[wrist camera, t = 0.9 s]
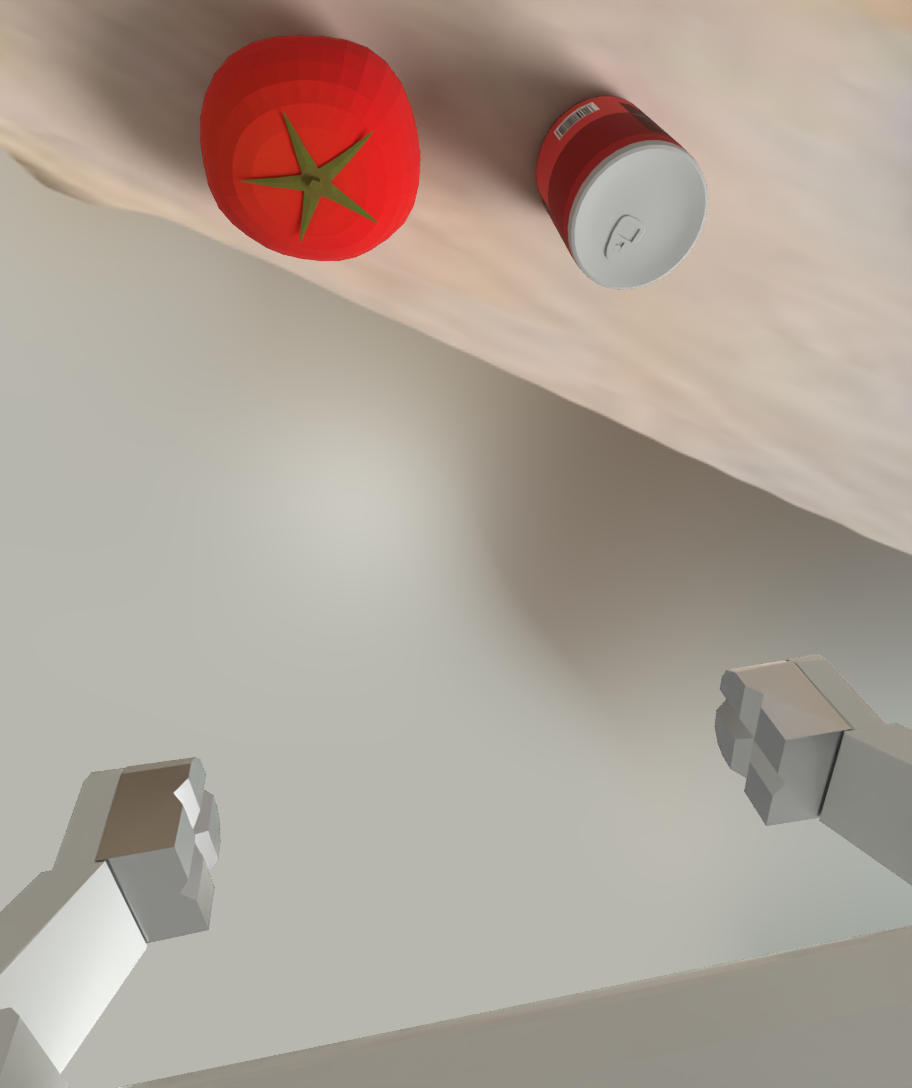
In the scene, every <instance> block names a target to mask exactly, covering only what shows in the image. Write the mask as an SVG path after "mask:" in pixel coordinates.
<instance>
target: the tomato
mask: <svg viewBox="0 0 912 1088" xmlns="http://www.w3.org/2000/svg"><path fill="white" fill-rule="evenodd" d="M200 141H201V149H202V156H203V163H204V168H205V172H206V177H207V181H208V185H209V188H210V190H211V192H212V194H213V197H214V199H215V201H216V203H217V205H218V207H219V209H220V210H221V211H222V212H223V213H224V215H225V216H226V217H227V218H228V219H229V220H230V222H231V223H232V224H233V225H235V226H236V227H237V228H238V229H240V230H241V231H242V232H244V233H245V234H246V235H247V236H249V237H250V238H252V239H254V240H255V241H257V242H258V243H260V244H261V245H263V246H265V247H266V248H268V249H271V250H273V251H276V252H278V253H281V254H283V255H287V256H292V257H296V258H301V259H309V260H317V261H341V260H345V259H350V258H354V257H357V256H359V255H361V254H364V253H366V252H368V251H370V250H372V249H373V248H375V247H376V246H377V245H379V244H380V243H382V242H384V241H385V240H387V239H388V238H389V237H390V236H391V235H392V234H393V233H394V232H396V231H397V230H398V229H399V228H400V227H401V226H402V225H403V224H404V223H405V221H406V219H407V217H408V215H409V214H410V212H411V210H412V208H413V206H414V203H415V198H416V194H417V190H418V186H419V175H420V149H419V141H418V134H417V127H416V123H415V120H414V116H413V113H412V109H411V106H410V103H409V100H408V98H407V95H406V93H405V90H404V88H403V85H402V83H401V82H400V80H399V79H398V78H397V76H396V75H395V74H394V72H393V71H392V69H391V68H390V67H389V65H388V64H387V63H386V61H384V60H383V59H382V58H380V57H379V56H378V55H377V54H375V53H374V52H373V51H371V50H370V49H369V48H367V47H364V46H362V45H359V44H356V43H354V42H351V41H348V40H344V39H337V38H331V37H324V36H303V35H297V36H281V37H273V38H268V39H264V40H260V41H256V42H252V43H250V44H249V45H247V46H245V47H243V48H242V49H240V50H238V51H237V52H235V53H233V54H232V55H231V56H230V57H228V59H227V60H226V61H225V62H224V63H223V65H222V66H221V67H220V68H219V69H218V70H217V72H216V73H215V74H214V76H213V78H212V80H211V83H210V85H209V87H208V89H207V92H206V94H205V98H204V102H203V107H202V112H201V116H200Z"/></svg>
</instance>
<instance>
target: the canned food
mask: <svg viewBox="0 0 912 1088" xmlns="http://www.w3.org/2000/svg"><path fill="white" fill-rule="evenodd" d="M536 180H537V188H538V192H539V196H540V198H541V200H542V202H543V204H544V206H545V208H546V210H547V212H548V214H549V215H550V217H551V219H552V221H553V223H554V225H555V227H556V228H557V230H558V232H559V234H560V236H561V238H562V239H563V241H564V243H565V245H566V247H567V249H568V250H569V252H570V254H571V256H572V258H573V259H574V261H575V262H576V264H577V265H578V267H579V268H580V269H581V270H582V271H583V273H584V274H585V275H586V276H587V277H588V278H590V279H591V280H593V281H594V282H595V283H597V284H599V285H602V286H604V287H606V288H611V289H617V290H625V289H634V288H639V287H643V286H646V285H648V284H650V283H653V282H655V281H657V280H659V279H660V278H662V277H663V276H665V275H667V274H668V273H669V272H671V271H672V270H673V269H674V268H675V267H676V266H678V265H679V264H680V263H681V261H682V260H683V259H684V258H685V257H686V256H687V255H688V253H689V252H690V251H691V249H692V247H693V246H694V244H695V243H696V241H697V239H698V237H699V235H700V233H701V231H702V228H703V226H704V222H705V218H706V215H707V207H708V191H707V184H706V181H705V178H704V175H703V172H702V171H701V169H700V167H699V166H698V164H697V163H696V161H695V159H694V158H693V157H692V156H691V155H690V154H689V153H688V152H687V151H686V150H685V149H684V148H683V147H682V146H681V145H680V144H679V143H678V142H676V141H675V140H674V139H673V138H672V137H671V136H669V135H668V134H667V133H666V132H665V131H664V130H663V129H661V128H660V127H659V126H658V125H657V124H656V123H654V122H653V121H652V120H651V119H650V118H649V117H648V116H646V115H645V114H644V113H643V112H642V111H641V110H639V109H638V108H637V107H636V106H635V105H634V104H632V103H630V102H628V101H626V100H625V99H622V98H618V97H613V96H599V97H595V98H591V99H587V100H585V101H583V102H581V103H578V104H576V105H574V106H573V107H571V108H570V109H569V110H567V111H566V112H565V113H563V115H562V116H561V117H560V118H559V119H558V120H557V121H556V122H555V123H554V124H553V126H552V127H551V129H550V130H549V132H548V133H547V135H546V137H545V140H544V142H543V144H542V146H541V150H540V153H539V157H538V160H537V169H536Z"/></svg>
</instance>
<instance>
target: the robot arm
mask: <svg viewBox="0 0 912 1088" xmlns="http://www.w3.org/2000/svg"><path fill="white" fill-rule="evenodd" d="M720 690H721V692H722V693H723V695H724V696H725V698H726V700H725V701H724V702H723V704H722V705H721V706H720V707H719V708H718V709H717V710H716V719H715V731H716V736H717V742H718V745H719V748H720V750H721V753H722V756H723V757H724V759H725V761H726V762H727V764H728V766H729V767H730V769H732V770H733V771H735V772H737V773H739V774H741V775H742V776H744V777H745V778H747V779H746V785H745V790H744V792H745V793H746V795H747V796H748V798H749V799H750V801H751V803H752V804H753V806H754V808H755V809H756V811H757V812H758V814H759V815H760V817H761V818H762V820H763V822H764V823H765V825H766V826H769V825H776V824H782V823H788V822H794V821H801V820H808V819H814V818H820V819H819V821H821V822H822V823H824V824H825V825H826V826H828V827H829V828H831V829H832V830H834V831H835V832H836V833H838V834H839V835H841V836H842V837H844V838H845V839H846V840H848V841H849V842H851V843H852V844H854V845H855V846H856V847H858V848H859V849H860V850H862V851H864V852H865V853H866V854H868V855H869V856H870V857H872V858H873V859H875V860H876V861H878V862H879V863H880V864H882V865H883V866H885V867H886V868H887V869H889V870H891V871H892V872H893V873H895V874H896V875H897V876H899V877H900V878H902V879H903V880H905V881H906V882H908V883H909V884H910V885H912V730H910V729H908V728H906V727H904V726H901V725H899V724H897V723H892V724H886V723H885V722H884V721H883V720H882V719H881V718H880V717H879V716H878V714H877V713H875V711H874V710H873V709H872V708H871V707H870V706H869V705H868V704H867V703H866V702H865V700H864V699H863V698H862V697H861V696H860V695H859V694H858V693H857V692H856V691H855V690H854V689H853V688H852V686H851V685H850V684H849V683H848V682H847V681H846V680H845V679H844V678H843V677H842V676H841V675H840V674H839V672H837V670H836V669H835V668H834V667H833V666H832V665H831V664H830V663H829V662H828V661H827V660H826V659H825V658H824V657H822V656H820V655H818V654H815V655H809V656H804V657H798V658H792V659H787V660H785V661H783V660H782V661H776V662H770V663H764V664H759V665H753V666H747V667H741V668H735V669H730V670H726V671H725V673H724V675H723V676H722V679H721V685H720ZM205 778H206V773H205V771H204V768H203V765H202V763H201V760H200V759H199V758H196V757H193V758H186V759H179V760H172V761H164V762H157V763H151V764H144V765H136V766H128V767H126V768H120V769H112V770H105V771H97V772H91V774H90V775H89V776H88V777H87V778H86V779H85V781H84V782H83V785H82V788H81V790H80V793H79V796H78V799H77V802H76V805H75V807H74V810H73V813H72V816H71V819H70V821H69V824H68V827H67V830H66V833H65V836H64V838H63V841H62V844H61V847H60V850H59V853H58V855H57V858H56V861H55V864H54V867H53V869H52V870H51V871H45V872H41V873H40V874H39V875H38V876H37V877H36V878H35V879H34V880H33V881H32V882H31V883H30V884H29V885H28V886H27V887H26V888H25V889H24V890H23V891H22V892H21V893H19V894H18V896H17V897H15V898H14V899H13V900H12V901H11V902H10V903H9V904H8V905H7V906H6V907H5V908H4V909H3V910H2V911H1V912H0V1088H70V1087H69V1086H68V1084H67V1083H66V1081H65V1080H64V1078H63V1077H62V1076H61V1072H62V1071H63V1069H64V1068H65V1066H66V1065H67V1063H68V1062H69V1061H70V1059H71V1058H72V1056H73V1055H74V1053H75V1052H76V1050H77V1049H78V1047H79V1046H80V1044H81V1043H82V1042H83V1040H84V1039H85V1037H86V1036H87V1034H88V1033H89V1031H90V1030H91V1028H92V1027H93V1025H94V1024H95V1022H96V1021H97V1020H98V1018H99V1017H100V1015H101V1014H102V1012H103V1011H104V1009H105V1008H106V1006H107V1005H108V1003H109V1002H110V1001H111V999H112V998H113V996H114V995H115V993H116V992H117V990H118V989H119V988H120V986H121V985H122V983H123V982H124V980H125V979H126V977H127V976H128V974H129V973H130V972H131V970H132V969H133V967H134V965H135V964H136V963H137V961H138V960H139V958H140V957H141V955H142V954H143V952H144V951H145V949H146V948H147V945H146V943H150V942H155V941H159V940H164V939H169V938H173V937H178V936H183V935H187V934H192V933H196V932H201V931H206V930H209V923H210V916H211V909H212V902H213V895H214V888H215V887H214V884H213V881H212V879H211V876H210V873H209V870H210V869H211V868H212V867H213V865H214V864H215V863H216V862H217V860H218V858H219V849H220V819H219V814H218V809H217V805H216V802H215V799H214V796H213V795H212V794H211V793H209V792H207V791H206V790H204V784H205ZM118 1088H912V925H909V926H904V927H898V928H893V929H889V930H884V931H879V932H875V933H869V934H864V935H859V936H854V937H850V938H845V939H840V940H835V941H830V942H825V943H820V944H815V945H811V946H806V947H801V948H796V949H791V950H786V951H782V952H776V953H772V954H767V955H762V956H757V957H752V958H748V959H742V960H738V961H733V962H728V963H723V964H718V965H713V966H708V967H704V968H699V969H694V970H689V971H685V972H679V973H674V974H670V975H665V976H660V977H655V978H650V979H645V980H640V981H636V982H631V983H626V984H621V985H616V986H611V987H606V988H601V989H597V990H592V991H587V992H582V993H577V994H572V995H568V996H562V997H558V998H553V999H548V1000H544V1001H538V1002H534V1003H528V1004H524V1005H519V1006H514V1007H509V1008H504V1009H499V1010H495V1011H489V1012H484V1013H480V1014H475V1015H470V1016H465V1017H461V1018H455V1019H450V1020H445V1021H440V1022H436V1023H431V1024H426V1025H421V1026H416V1027H412V1028H406V1029H401V1030H397V1031H392V1032H387V1033H382V1034H377V1035H372V1036H367V1037H362V1038H358V1039H353V1040H348V1041H343V1042H338V1043H333V1044H328V1045H324V1046H318V1047H314V1048H309V1049H304V1050H299V1051H294V1052H289V1053H284V1054H279V1055H274V1056H270V1057H265V1058H260V1059H255V1060H250V1061H245V1062H240V1063H235V1064H231V1065H226V1066H221V1067H216V1068H211V1069H207V1070H201V1071H197V1072H191V1073H187V1074H182V1075H177V1076H173V1077H167V1078H163V1079H157V1080H152V1081H147V1082H143V1083H138V1084H133V1085H128V1086H123V1087H118Z"/></svg>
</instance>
